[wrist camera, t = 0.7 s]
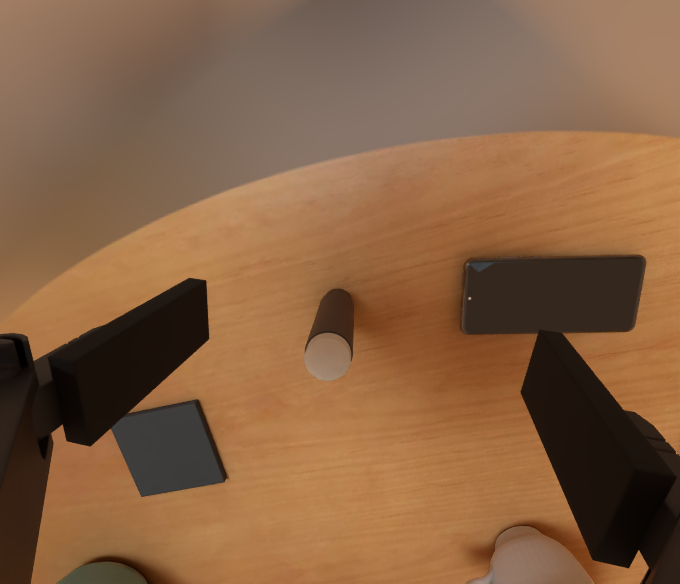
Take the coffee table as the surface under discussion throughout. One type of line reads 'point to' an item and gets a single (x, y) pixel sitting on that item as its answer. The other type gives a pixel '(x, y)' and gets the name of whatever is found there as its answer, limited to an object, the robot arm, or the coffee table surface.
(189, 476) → the pad
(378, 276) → the coffee table surface
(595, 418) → the robot arm
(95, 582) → the bowl
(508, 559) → the teacup
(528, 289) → the smartphone
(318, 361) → the dark grey capped cylinder
